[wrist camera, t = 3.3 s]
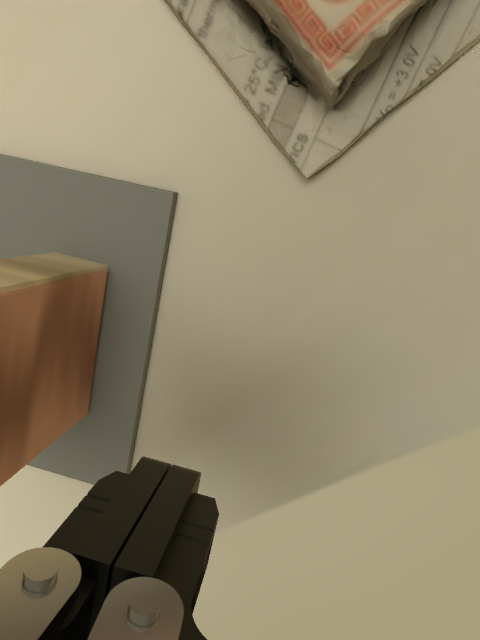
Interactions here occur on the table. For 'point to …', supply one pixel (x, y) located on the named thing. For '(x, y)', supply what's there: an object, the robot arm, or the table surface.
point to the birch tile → (45, 350)
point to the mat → (119, 297)
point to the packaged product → (327, 61)
